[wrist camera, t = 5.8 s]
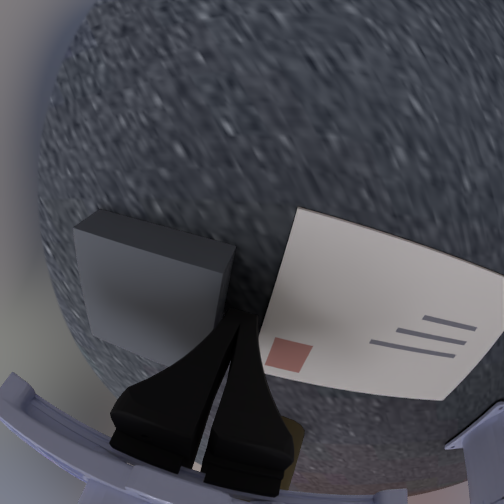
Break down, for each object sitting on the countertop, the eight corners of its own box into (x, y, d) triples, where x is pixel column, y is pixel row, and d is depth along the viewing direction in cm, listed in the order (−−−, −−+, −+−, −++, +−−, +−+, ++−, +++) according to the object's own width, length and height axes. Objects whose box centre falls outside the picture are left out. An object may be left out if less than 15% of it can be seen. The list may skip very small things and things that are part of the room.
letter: (530, 286, 10) (531, 288, 10) (441, 398, 16) (442, 400, 15) (297, 206, 11) (297, 208, 11) (248, 366, 16) (247, 369, 16)
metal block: (237, 242, 13) (223, 273, 11) (217, 345, 16) (205, 379, 14) (104, 206, 13) (72, 227, 11) (112, 308, 17) (92, 335, 15)
